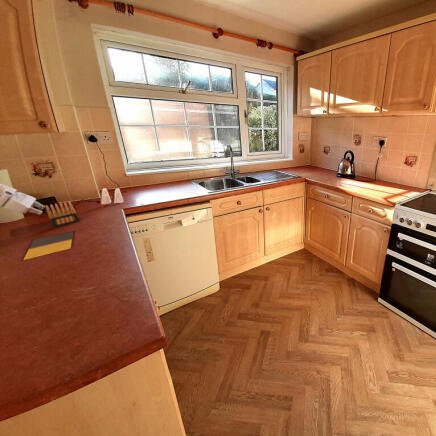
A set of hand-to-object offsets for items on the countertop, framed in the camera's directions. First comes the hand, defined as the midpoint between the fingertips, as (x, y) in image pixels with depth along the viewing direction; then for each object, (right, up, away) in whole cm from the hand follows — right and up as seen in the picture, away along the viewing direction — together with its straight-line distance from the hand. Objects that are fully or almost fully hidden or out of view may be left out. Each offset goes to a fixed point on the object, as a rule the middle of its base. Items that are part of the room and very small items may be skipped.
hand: (43, 210), depth 122 cm
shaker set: (+8, +5, +38) cm, 39 cm away
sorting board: (+21, -16, -17) cm, 31 cm away
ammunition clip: (+6, -7, +7) cm, 12 cm away
